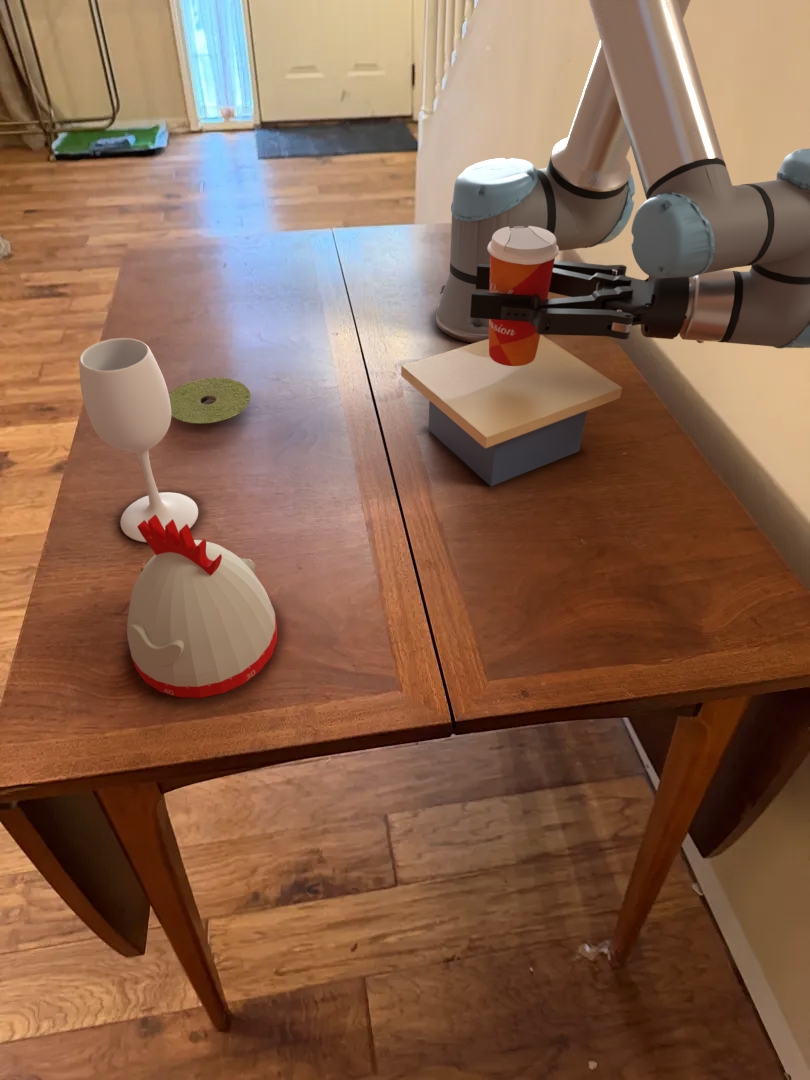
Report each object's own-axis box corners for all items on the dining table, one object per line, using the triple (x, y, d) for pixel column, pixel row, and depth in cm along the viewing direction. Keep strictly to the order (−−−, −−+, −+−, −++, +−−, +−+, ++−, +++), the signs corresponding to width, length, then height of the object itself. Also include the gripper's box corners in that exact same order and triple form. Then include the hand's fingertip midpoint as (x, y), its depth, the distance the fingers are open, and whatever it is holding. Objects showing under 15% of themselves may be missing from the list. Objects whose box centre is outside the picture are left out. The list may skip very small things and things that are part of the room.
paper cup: (475, 340, 95) (483, 224, 86) (537, 337, 95) (551, 222, 86) (485, 373, 89) (495, 253, 80) (551, 370, 90) (568, 250, 80)
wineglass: (212, 503, 91) (177, 340, 77) (172, 550, 85) (127, 384, 71) (148, 487, 93) (103, 326, 79) (105, 533, 87) (48, 368, 73)
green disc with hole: (269, 410, 106) (267, 397, 104) (201, 445, 100) (198, 432, 98) (218, 380, 111) (216, 368, 110) (151, 412, 105) (148, 399, 104)
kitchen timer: (192, 572, 83) (162, 459, 73) (303, 614, 78) (288, 499, 68) (102, 666, 73) (54, 551, 63) (222, 719, 69) (192, 605, 59)
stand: (521, 387, 110) (528, 326, 104) (607, 452, 99) (622, 387, 93) (400, 429, 103) (401, 365, 96) (480, 504, 91) (486, 437, 85)
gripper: (684, 380, 81) (463, 363, 83) (666, 297, 95) (478, 285, 97) (703, 312, 76) (468, 296, 78) (681, 236, 90) (482, 224, 92)
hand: (474, 290), depth 88 cm, fingers closed on paper cup, 7 cm apart
